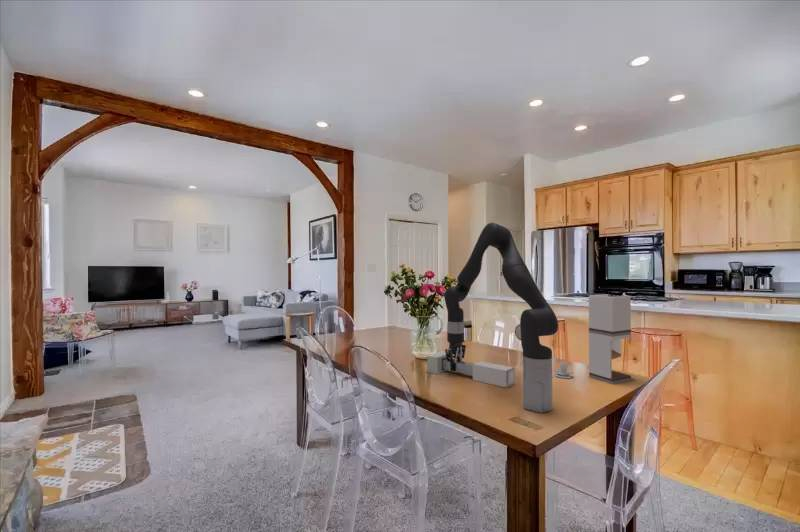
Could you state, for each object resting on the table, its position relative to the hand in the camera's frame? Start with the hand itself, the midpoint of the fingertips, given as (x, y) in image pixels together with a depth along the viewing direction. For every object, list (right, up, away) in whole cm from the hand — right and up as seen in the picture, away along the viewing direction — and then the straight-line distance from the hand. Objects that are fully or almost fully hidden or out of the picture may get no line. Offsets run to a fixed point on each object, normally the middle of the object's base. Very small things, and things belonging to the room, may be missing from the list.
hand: (455, 369), depth 162 cm
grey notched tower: (+63, -2, -9) cm, 64 cm away
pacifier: (+46, -2, -5) cm, 46 cm away
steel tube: (+3, 0, -3) cm, 4 cm away
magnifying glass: (+35, -2, +13) cm, 37 cm away
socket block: (-7, -2, +6) cm, 9 cm away
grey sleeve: (+14, -2, -12) cm, 18 cm away
